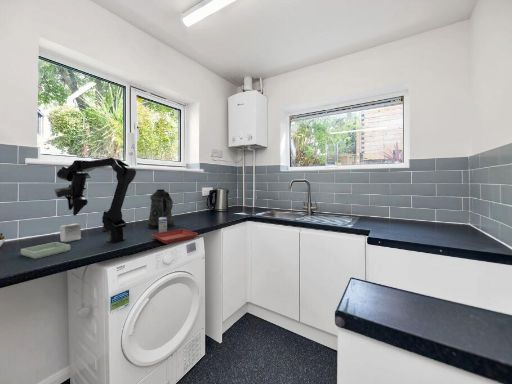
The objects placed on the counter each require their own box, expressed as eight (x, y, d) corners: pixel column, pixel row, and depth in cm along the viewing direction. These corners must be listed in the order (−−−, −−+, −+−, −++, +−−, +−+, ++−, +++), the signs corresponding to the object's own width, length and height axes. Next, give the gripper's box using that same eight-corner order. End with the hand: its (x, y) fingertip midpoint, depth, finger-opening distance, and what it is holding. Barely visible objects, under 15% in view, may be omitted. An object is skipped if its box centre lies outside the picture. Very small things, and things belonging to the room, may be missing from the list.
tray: (70, 250, 100) (70, 244, 100) (35, 259, 89) (34, 252, 89) (55, 247, 105) (55, 241, 105) (20, 254, 94) (20, 249, 94)
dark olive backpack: (156, 223, 161) (155, 188, 160) (182, 224, 158) (181, 189, 157) (141, 228, 145) (140, 189, 143) (170, 229, 142) (169, 190, 141)
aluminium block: (81, 238, 120) (80, 224, 119) (65, 242, 114) (64, 226, 113) (76, 238, 122) (75, 223, 121) (60, 241, 115) (59, 225, 115)
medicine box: (158, 231, 137) (158, 217, 136) (166, 230, 138) (166, 216, 138) (158, 234, 129) (158, 219, 129) (167, 233, 131) (166, 219, 131)
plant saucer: (150, 239, 120) (150, 233, 120) (182, 233, 132) (182, 228, 132) (164, 246, 107) (164, 239, 107) (198, 239, 119) (198, 233, 119)
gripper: (54, 177, 116) (48, 206, 118) (62, 186, 105) (56, 218, 107) (80, 180, 125) (74, 207, 127) (90, 189, 114) (84, 218, 115)
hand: (72, 212), depth 119 cm, fingers open, 9 cm apart
